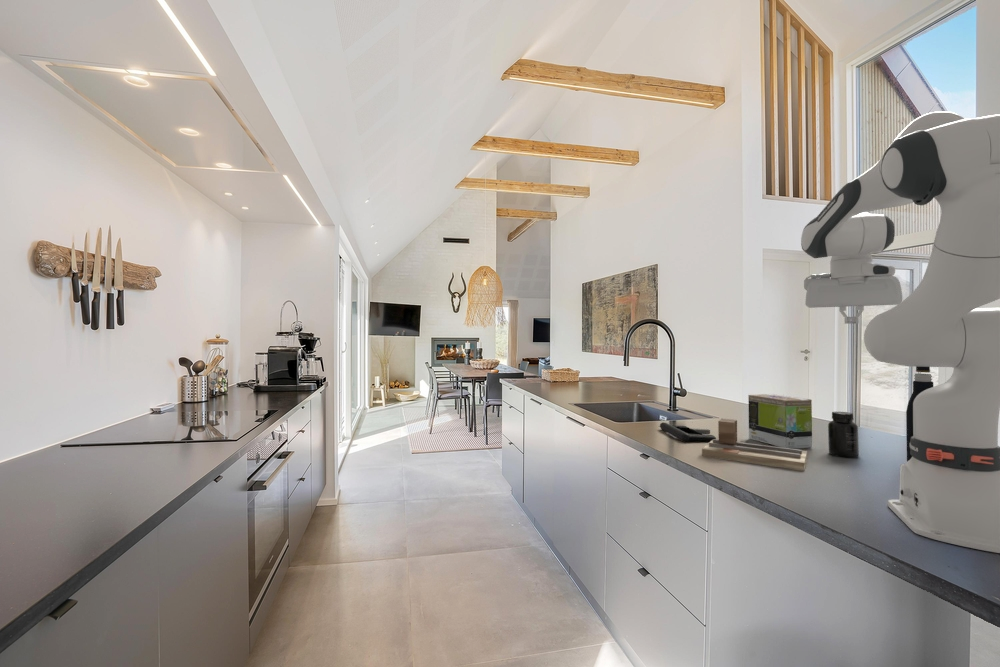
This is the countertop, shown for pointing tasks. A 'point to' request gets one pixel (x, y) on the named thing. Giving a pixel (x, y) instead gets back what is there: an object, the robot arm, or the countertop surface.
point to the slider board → (757, 454)
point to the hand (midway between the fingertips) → (851, 323)
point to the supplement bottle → (843, 435)
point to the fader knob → (727, 431)
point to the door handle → (687, 433)
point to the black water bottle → (919, 385)
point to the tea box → (780, 420)
